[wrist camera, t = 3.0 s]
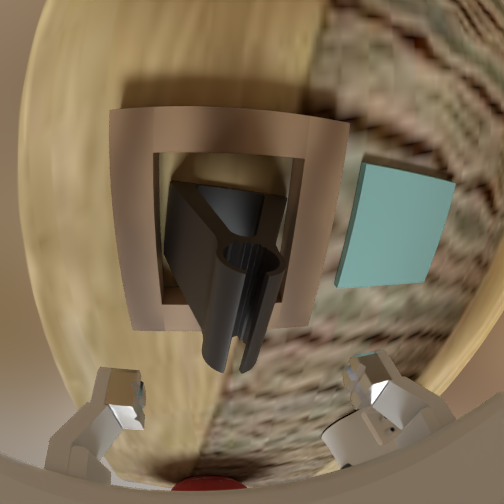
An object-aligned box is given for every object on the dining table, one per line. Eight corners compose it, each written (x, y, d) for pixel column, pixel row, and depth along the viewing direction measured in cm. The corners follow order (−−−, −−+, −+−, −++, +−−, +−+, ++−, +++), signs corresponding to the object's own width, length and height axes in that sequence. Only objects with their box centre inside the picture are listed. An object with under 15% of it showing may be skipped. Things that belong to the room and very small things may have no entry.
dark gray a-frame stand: (163, 251, 23) (142, 367, 12) (170, 179, 20) (137, 262, 10) (268, 262, 25) (313, 372, 14) (286, 196, 22) (357, 282, 12)
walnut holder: (335, 120, 20) (350, 123, 17) (300, 309, 28) (307, 325, 26) (120, 109, 17) (109, 109, 15) (136, 312, 25) (132, 330, 23)
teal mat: (450, 181, 24) (455, 183, 23) (420, 278, 29) (423, 282, 29) (361, 161, 22) (366, 163, 21) (334, 283, 27) (337, 288, 26)
